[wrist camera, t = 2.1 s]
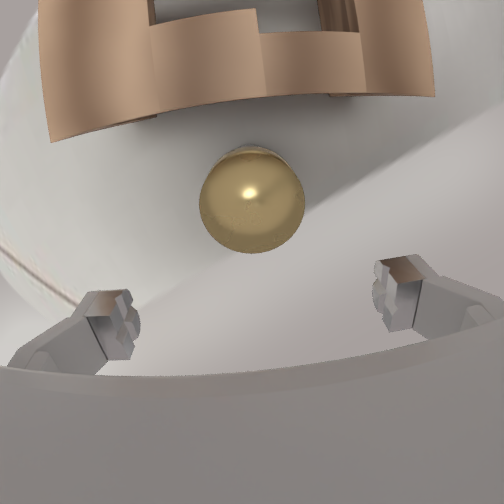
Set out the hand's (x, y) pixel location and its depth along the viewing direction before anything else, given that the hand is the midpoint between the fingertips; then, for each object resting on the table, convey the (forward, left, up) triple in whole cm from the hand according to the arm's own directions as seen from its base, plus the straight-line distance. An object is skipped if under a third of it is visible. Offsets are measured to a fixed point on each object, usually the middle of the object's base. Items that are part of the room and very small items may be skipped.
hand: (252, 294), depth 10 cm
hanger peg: (0, 0, -23) cm, 23 cm away
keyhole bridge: (0, -12, -23) cm, 26 cm away
